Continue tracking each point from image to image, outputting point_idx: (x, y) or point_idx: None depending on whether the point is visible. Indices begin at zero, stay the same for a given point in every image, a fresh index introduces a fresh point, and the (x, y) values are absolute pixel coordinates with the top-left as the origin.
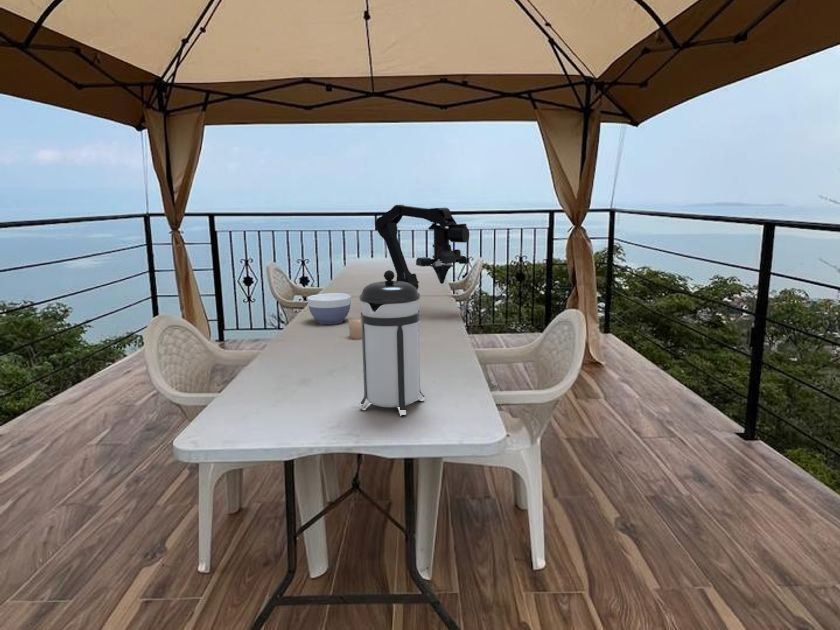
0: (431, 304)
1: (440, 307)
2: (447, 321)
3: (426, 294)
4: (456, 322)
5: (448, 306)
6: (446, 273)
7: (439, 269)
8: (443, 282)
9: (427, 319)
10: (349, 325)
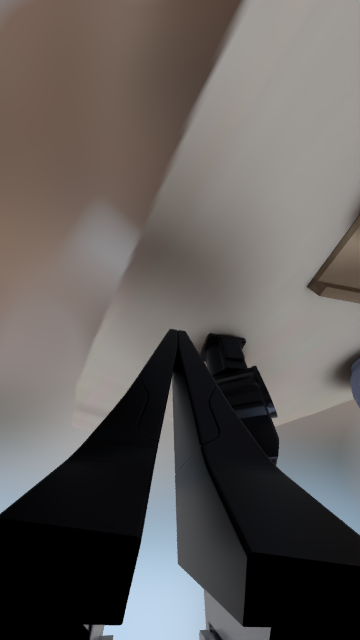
0: (123, 376)
1: (119, 352)
2: (208, 178)
3: (98, 418)
4: (191, 119)
5: (97, 350)
6: (132, 393)
7: (275, 483)
8: (170, 332)
9: (234, 261)
10: None
